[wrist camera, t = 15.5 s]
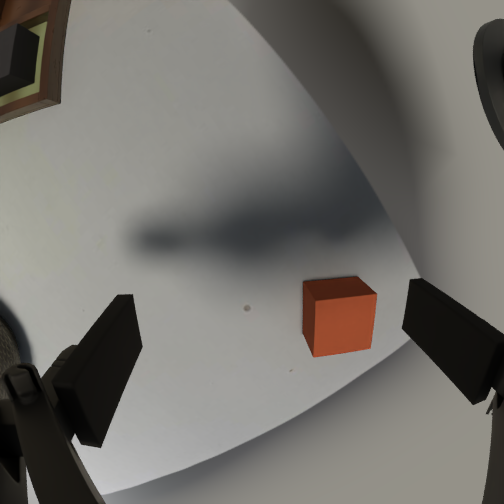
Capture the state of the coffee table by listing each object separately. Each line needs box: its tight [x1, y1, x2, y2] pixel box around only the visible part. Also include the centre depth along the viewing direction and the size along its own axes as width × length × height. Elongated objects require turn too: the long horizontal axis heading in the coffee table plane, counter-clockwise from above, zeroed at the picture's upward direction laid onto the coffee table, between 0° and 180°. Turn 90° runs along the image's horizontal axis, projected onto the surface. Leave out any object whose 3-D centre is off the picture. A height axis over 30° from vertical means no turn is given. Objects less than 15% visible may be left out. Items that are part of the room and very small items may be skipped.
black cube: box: [0, 23, 40, 97], centre depth 18 cm, size 6×6×4 cm
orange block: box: [303, 277, 377, 357], centre depth 28 cm, size 6×6×4 cm
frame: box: [0, 0, 71, 123], centre depth 19 cm, size 11×21×3 cm, turn 3°
